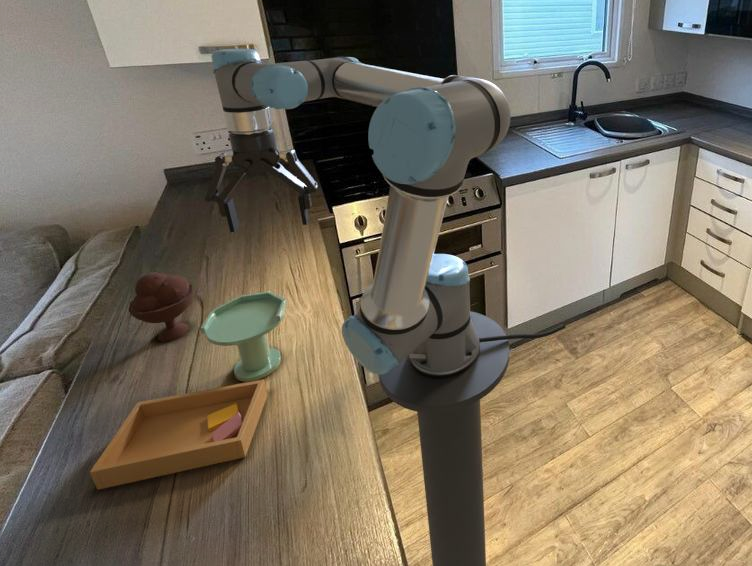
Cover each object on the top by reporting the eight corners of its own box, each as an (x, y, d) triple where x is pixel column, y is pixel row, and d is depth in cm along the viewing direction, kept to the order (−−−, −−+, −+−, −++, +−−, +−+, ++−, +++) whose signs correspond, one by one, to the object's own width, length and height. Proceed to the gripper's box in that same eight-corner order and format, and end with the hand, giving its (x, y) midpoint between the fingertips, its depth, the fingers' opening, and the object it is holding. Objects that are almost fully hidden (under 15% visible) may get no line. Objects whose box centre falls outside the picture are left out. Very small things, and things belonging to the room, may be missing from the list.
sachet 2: (241, 414, 76) (238, 411, 75) (245, 426, 73) (242, 423, 73) (214, 435, 73) (211, 433, 73) (217, 448, 71) (214, 446, 71)
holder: (268, 394, 82) (264, 379, 81) (245, 457, 71) (240, 440, 70) (143, 418, 77) (137, 402, 76) (97, 490, 66) (89, 472, 64)
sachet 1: (238, 414, 76) (239, 418, 77) (236, 402, 79) (237, 405, 79) (207, 428, 74) (209, 432, 74) (206, 415, 76) (207, 419, 76)
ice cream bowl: (139, 358, 90) (117, 297, 85) (144, 328, 98) (124, 270, 93) (203, 337, 96) (185, 279, 91) (202, 310, 104) (187, 255, 99)
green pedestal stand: (300, 337, 96) (290, 288, 92) (286, 383, 85) (274, 329, 80) (232, 349, 93) (218, 298, 88) (208, 399, 81) (191, 343, 77)
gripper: (323, 121, 93) (336, 212, 100) (185, 128, 86) (210, 224, 93) (316, 131, 86) (331, 227, 93) (166, 138, 79) (195, 241, 87)
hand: (271, 225), depth 93 cm, fingers open, 13 cm apart
